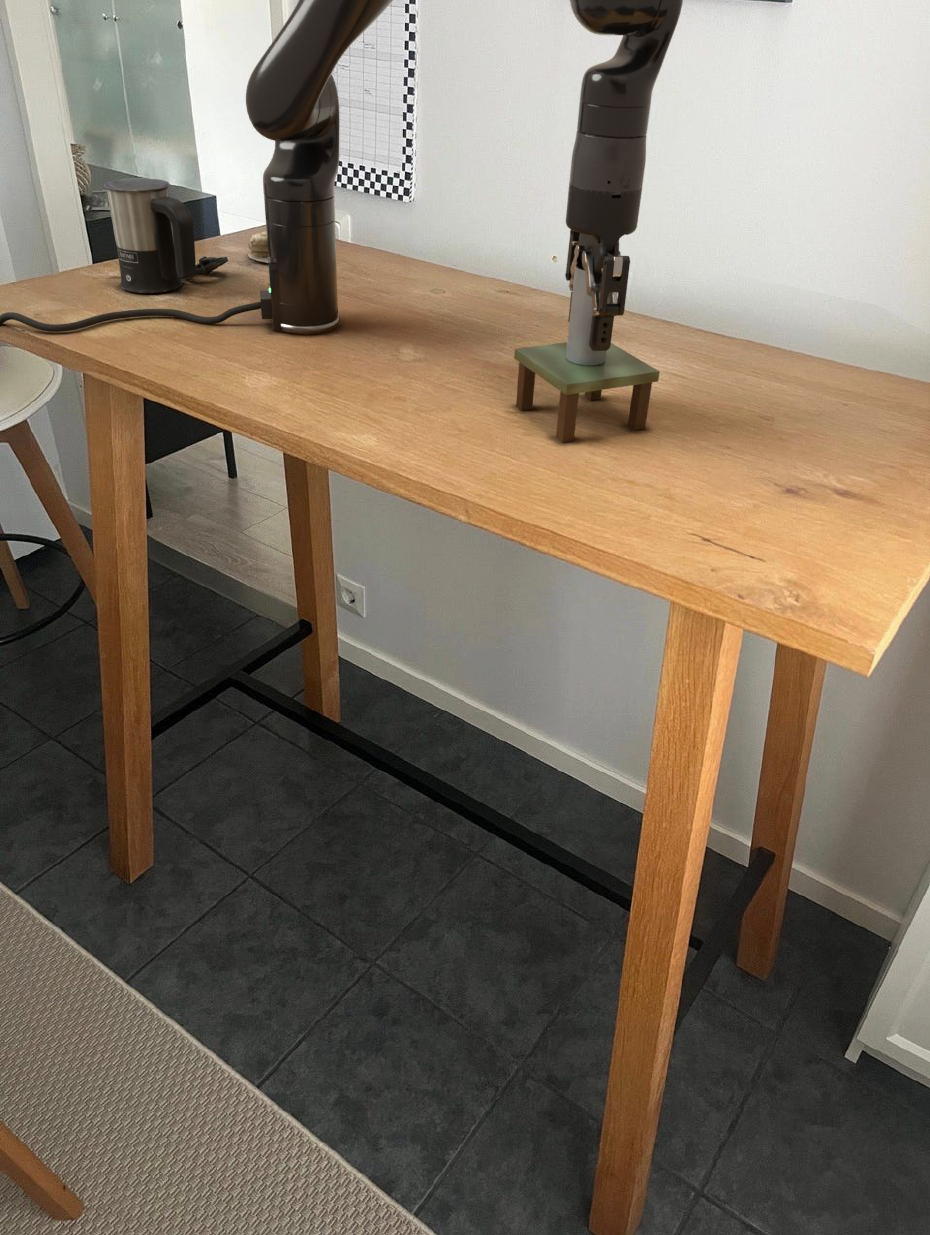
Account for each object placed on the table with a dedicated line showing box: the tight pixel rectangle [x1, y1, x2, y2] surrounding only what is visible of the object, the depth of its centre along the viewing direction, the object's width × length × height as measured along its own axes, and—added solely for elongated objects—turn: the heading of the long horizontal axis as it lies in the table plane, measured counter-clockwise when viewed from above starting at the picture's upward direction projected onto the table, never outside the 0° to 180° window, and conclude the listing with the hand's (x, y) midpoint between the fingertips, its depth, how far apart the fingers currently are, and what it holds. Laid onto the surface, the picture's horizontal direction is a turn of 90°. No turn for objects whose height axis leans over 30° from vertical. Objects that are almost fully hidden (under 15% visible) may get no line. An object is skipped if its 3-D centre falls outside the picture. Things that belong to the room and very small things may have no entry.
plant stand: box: [513, 341, 661, 443], centre depth 114 cm, size 12×12×7 cm
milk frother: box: [103, 177, 229, 294], centre depth 150 cm, size 14×16×15 cm
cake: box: [246, 231, 268, 263], centre depth 167 cm, size 10×10×5 cm
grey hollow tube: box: [566, 263, 610, 366], centre depth 109 cm, size 4×4×10 cm
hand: (588, 337), depth 110 cm, fingers open, 8 cm apart
